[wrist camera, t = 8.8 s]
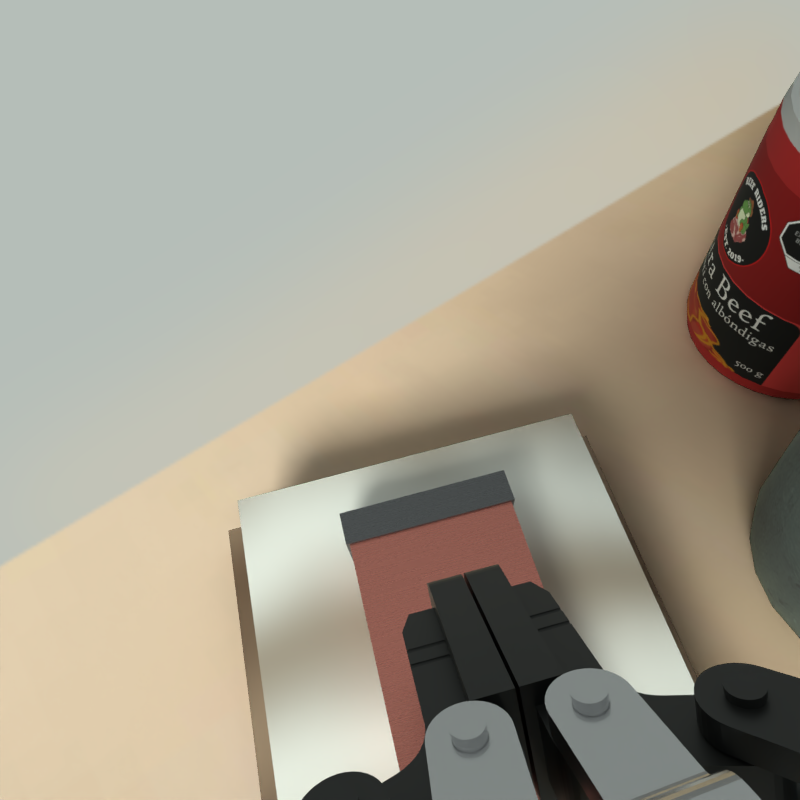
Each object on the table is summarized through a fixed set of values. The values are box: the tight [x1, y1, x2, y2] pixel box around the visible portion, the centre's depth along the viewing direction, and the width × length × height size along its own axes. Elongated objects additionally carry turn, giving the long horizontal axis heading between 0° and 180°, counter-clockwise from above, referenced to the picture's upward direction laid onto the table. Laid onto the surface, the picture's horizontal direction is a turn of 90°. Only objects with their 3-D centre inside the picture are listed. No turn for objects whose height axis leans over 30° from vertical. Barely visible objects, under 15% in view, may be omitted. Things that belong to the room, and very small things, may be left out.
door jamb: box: [229, 414, 697, 800], centre depth 18 cm, size 21×14×6 cm, turn 14°
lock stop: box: [340, 470, 544, 800], centre depth 17 cm, size 2×5×14 cm
